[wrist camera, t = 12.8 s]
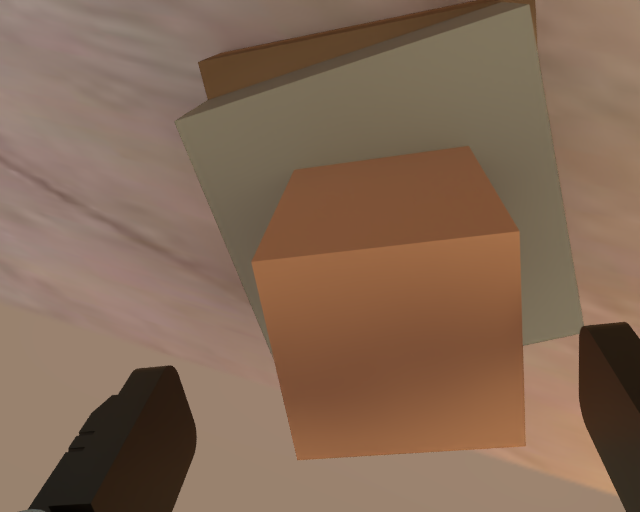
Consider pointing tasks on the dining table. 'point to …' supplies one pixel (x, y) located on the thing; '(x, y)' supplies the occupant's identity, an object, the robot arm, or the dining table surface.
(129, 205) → the dining table surface
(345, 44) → the walnut slab
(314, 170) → the terracotta block
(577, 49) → the dining table surface
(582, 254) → the dining table surface
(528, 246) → the grey slab
